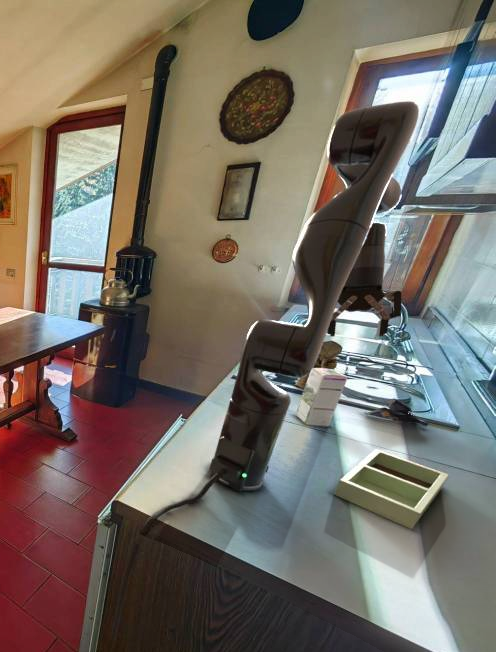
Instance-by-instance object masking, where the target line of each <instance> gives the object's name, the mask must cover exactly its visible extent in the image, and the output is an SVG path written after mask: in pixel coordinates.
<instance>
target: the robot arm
mask: <svg viewBox="0 0 496 652" xmlns="http://www.w3.org/2000/svg"><path fill="white" fill-rule="evenodd" d="M419 112H420V110H419V105H418V104H417V103H416V102H415V101H408V100H406V101H396V102H389V103H383V104H382V103H381V104H377V105H370V106H364V107H359V108H354V109H351V110H348V111H346V112H344V113H343V114H341V115H340V116H339V117H338V119H337V120H336V121H335V123H334V125H333V127H332V129H331V132H330V134H329V138H328V142H327V147H326V156H327V161H328V164H329V165H330V166H331V168H332V169H333V170H334V171H335V173H336V174H337V175H338V176H339V177H340V178H341V179H342V181H343V182H344V184H345V188H344V189H343V190H342V191H340V192H339V193H338V194H336V195H335V196H333V197H332V198H331V199H329V200H328V201H327V202H326V203H325V204H323V205H322V206H320V208H318V209H317V210H316V211H315V212H314V213H313V214H312V215H310V217H309V218H308V219H307V220H306V222H305V223H304V226H303V228H302V229H301V232H300V235H299V237H298V239H297V242H296V244H295V246H294V249H293V252H292V256H291V261H292V266H293V269H294V273H295V275H296V277H297V280H298V282H299V284H300V287H301V289H302V292H303V294H304V298H305V303H306V308H307V320H306V323H304V324H297V323H291V322H286V321H285V322H284V321H277V320H272V319H259V320H257V321H255V322H254V323H253V324H252V325H251V326H250V328H249V330H248V332H247V333H246V334H247V335H246V337H245V339H244V344H243V348H242V352H241V356H240V361H239V365H238V371H237V375H236V378H235V381H234V385H233V390H232V393H231V396H230V400H229V403H228V407H227V410H226V413H225V417H224V420H223V423H222V427H221V429H220V430H221V431H220V434H219V437H218V440H217V444H216V448H215V451H214V455H213V458H212V459H211V462H210V465H209V469H208V470H209V474H208V477H209V478H210V479H209V480H208V481H207V482H205V484H204V486H202V488H201V490H200V491H199V492H198V493H197V494H195V495H194V496H192V497H188V498H186V499H182V500H180V501H177V502H174V503H171V504H168V505H166V506H164V507H162V508H161V509H159V510H157V511H155V512H154V513H153V514H151V515H150V516H149V518H148V519H147V520H146V522H145V523H144V525H142V527H141V530H140V532H141V533H142V534H147V532H149V529H150V528H151V526H152V525H153V523H155V521H156V520H157V519H158V518H159V517H161V516H163V515H164V514H166V513H168V512H170V511H172V510H175V509H177V508H181V507H183V506H185V505H188V504H192V503H195V502H197V501H199V500H200V499H202V498H203V497H204V496H205V495H206V494H207V493H208V491H209V489H210V488H211V487H212V486H213V485H214V484H215V483H216V482H219V483H220V484H222V485H225V486H226V487H228V488H230V489H232V490H234V491H236V492H238V493H240V492H242V491H245V492H253V491H258V490H259V489H260V488H261V487H262V485H263V482H264V478H265V474H267V473H268V470H269V468H270V467H269V464H270V461H271V457H272V454H273V451H274V449H275V446H276V443H277V440H278V439H279V435H280V433H281V430H282V427H283V424H284V423H285V419H286V416H287V412H288V411H289V408H290V405H291V402H292V401H291V399H292V398H291V396H290V394H289V393H288V392H287V391H285V390H284V389H282V388H281V387H279V386H278V385H276V384H275V383H273V382H271V381H270V380H269V379H268V378H267V377H266V376H265V375H264V373H263V372H267V373H271V374H275V375H279V376H283V377H284V376H285V377H289V378H294V379H300V378H303V377H305V376H306V375H308V374H309V372H310V371H311V370H312V368H313V366H314V365H315V363H316V360H317V358H318V356H319V353H320V350H321V348H322V345H323V342H325V338H326V336H327V335H329V338H330V337H331V338H333V337H335V336H336V327H337V320H336V319H337V318H338V317H339V316H340V315H341V314H342V313H344V312H345V311H346V312H348V313H354V312H368V311H370V312H371V313H372V314H373V315H375V316H376V317H377V318H378V319H379V320H377V321H378V322H377V332H376V337H377V338H380V337H381V338H383V336H384V335H386V334H387V333H388V330H389V321H390V320H392V319H396V318H398V317H401V315H402V291H401V290H395V291H392V292H385V291H383V283H384V276H385V275H384V273H385V266H386V265H385V263H386V251H385V248H386V247H385V246H386V236H387V226H386V224H385V223H383V222H379V221H377V222H376V221H374V218H375V215H378V214H383V213H387V212H389V211H391V210H393V209H394V208H396V206H397V205H398V204H399V202H400V201H401V198H402V187H401V185H400V183H399V182H398V180H397V179H396V178H395V177H394V176H393V174H394V172H395V171H396V169H397V166H398V165H399V163H400V160H401V159H402V157H403V155H404V153H405V150H406V149H407V147H408V145H409V143H410V140H411V138H412V136H413V134H414V131H415V129H416V126H417V123H418V120H419ZM384 298H385V299H386V300H387V302H389V303H390V312H389V313H388V312H387V311H386V310H385V309H384V307H383V306H382V305H381V304H380V302H381V301H382V300H383V299H384ZM337 304H338V305H340V306H339V307H338V308H337ZM336 308H337V309H336ZM262 371H263V372H262ZM140 548H141V545H140V544H138V543H137V542H135V543H134V544H133V548H132V551H131V552H130V553H131V554H130V557H129V559H128V562H127V566H126V569H125V572H124V575H123V579H122V582H121V586H120V591H119V594H118V600H117V605H116V610H115V615H114V619H113V624H112V627H111V633H110V637H109V639H110V641H111V642H115V641H116V637H117V633H118V629H119V624H120V620H121V615H122V610H123V605H124V601H125V596H126V592H127V588H128V584H129V580H130V577H131V574H132V571H133V568H134V565H135V562H136V559H137V556H138V554H139V551H140Z"/></svg>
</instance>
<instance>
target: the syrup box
mask: <svg viewBox="0 0 496 652" xmlns="http://www.w3.org/2000/svg"><path fill="white" fill-rule="evenodd" d="M348 378H349V376H347V375H345V374H343V373H342V372H340V371H338V370H336V369H335V368H334V369H327V368H312V370H311V372H310V375H309V377H308V380H307V383H306V386H305V389H303V392H302V395H301V398H300V401H299V403H298V405H297V409H296V411H295V417H296V418H298V419H299V420H300V421H301V422H302V423H304V424H305V425H307V426H316V427H330V424H331V421H332V419H333V416H334V414H335V412H336V409H337V406H338V404H339V401H340V398H341V396H342V394H343V392H344V388H345V386H346V384H347V380H348Z"/></svg>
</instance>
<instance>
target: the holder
mask: <svg viewBox="0 0 496 652" xmlns="http://www.w3.org/2000/svg"><path fill="white" fill-rule="evenodd" d="M449 476H450V475H449V474H448V473H446V472H443V471H439V470H437V469H434V468H430V467H428V466H426V465H422V464H420V463H416V462H414V461H412V460H408V459H406V458H403V457H399V456H397V455H395V454H391V453H388V452H385V451H383V450H379V449H374V450H373V451H372V452H371V453H369V454H368V455H367V456H366V457H365V458H363V460H361V461H360V462H359V463H358V464H357V465H355V466H354V467H353V468H352V469H351V470H349V471H348V473H346V474H345V475H344V476H343V477H341V479H339V481H338V484H337V485H336V488H335V489H334V493H333V495H334V496H336V497H339V498H341V499H343V500H345V501H347V502H350V503H352V504H354V505H356V506H359V507H361V508H364V509H365V510H368V511H370V512H373V513H375V514H377V515H379V516H381V517H383V518H385V519H387V520H390V521H392V522H395V523H397V524H399V525H401V526H403V527H406V528H407V529H410V530H413V529H414V527H415V526H416V524H417V523H418V522H419V520H420V518H421V517H422V516H423V514H424V513H425V512H426V510H427V509H428V508H429V506H430V505H431V504H432V502H433V500H434V499H435V498H436V497H437V495H438V494H439V493H440V491H441V490H442V488H443V486H444V485H445V483H446V481H447V479H448V478H449Z"/></svg>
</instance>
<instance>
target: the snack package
mask: <svg viewBox="0 0 496 652" xmlns="http://www.w3.org/2000/svg"><path fill="white" fill-rule="evenodd" d="M384 404H385V406H384V407H380V408H377V409H375V410H370V411H368V412H365V411H364V415H365V417H368V416H373V417H377V418H381V419H385V420H389V421H393V422H398V423H407V424H408V423H411V424H412V423H413V424H415V425H417V424H419V425H422V426H424V427H428V425H429V422H427V421H425V420H422V419H419V418H418V417H417V416H416V415H415V414H413V413H412V412H413V411H412V408H411V407H410V406H409V405H408V404H406V403H404V402H402V401H401V400H399V399H397V398H396V397H394V398H391V399H389V400H387V401H386V402H385V403H384ZM408 413H409V414H408ZM411 414H412V415H411ZM413 415H414V416H413Z"/></svg>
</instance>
